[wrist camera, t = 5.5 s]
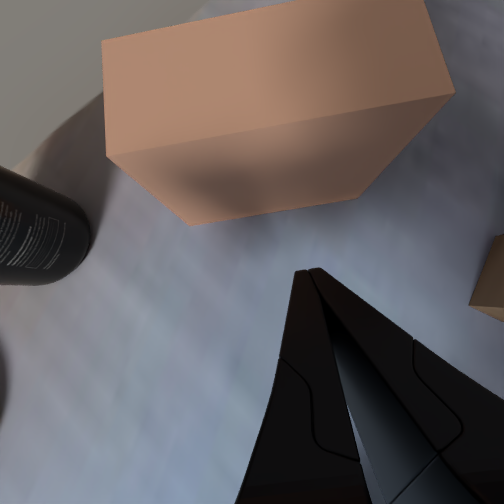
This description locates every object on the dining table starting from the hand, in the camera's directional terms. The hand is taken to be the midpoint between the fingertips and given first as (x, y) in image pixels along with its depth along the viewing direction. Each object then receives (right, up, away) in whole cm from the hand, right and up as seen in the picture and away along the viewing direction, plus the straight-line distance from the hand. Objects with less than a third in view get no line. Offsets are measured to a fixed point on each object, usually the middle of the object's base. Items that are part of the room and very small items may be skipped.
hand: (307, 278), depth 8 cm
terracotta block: (-1, +6, +9) cm, 11 cm away
